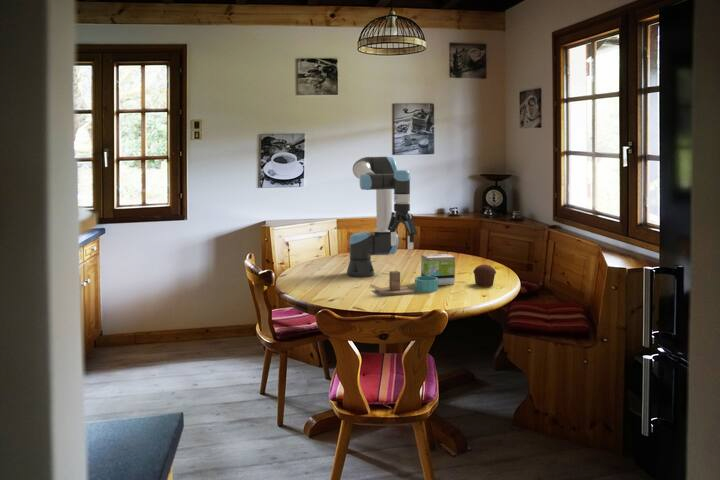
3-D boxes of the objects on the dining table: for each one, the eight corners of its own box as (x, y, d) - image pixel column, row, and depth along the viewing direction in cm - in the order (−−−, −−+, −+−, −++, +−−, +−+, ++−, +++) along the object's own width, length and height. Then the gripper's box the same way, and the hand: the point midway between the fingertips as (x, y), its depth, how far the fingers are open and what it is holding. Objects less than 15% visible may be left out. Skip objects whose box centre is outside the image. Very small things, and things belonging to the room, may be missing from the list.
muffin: (468, 284, 309) (468, 265, 308) (482, 281, 316) (482, 262, 315) (486, 288, 300) (486, 268, 299) (500, 284, 307) (501, 265, 306)
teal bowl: (411, 288, 301) (411, 276, 300) (432, 287, 304) (432, 275, 303) (420, 293, 290) (420, 281, 289) (441, 291, 293) (441, 279, 292)
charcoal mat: (370, 291, 296) (370, 290, 296) (408, 288, 302) (408, 287, 302) (379, 298, 283) (379, 297, 283) (419, 294, 288) (419, 293, 288)
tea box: (427, 286, 305) (428, 257, 303) (420, 282, 314) (420, 254, 312) (455, 284, 309) (455, 256, 307) (447, 280, 318) (447, 253, 316)
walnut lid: (375, 290, 295) (375, 270, 294) (405, 288, 300) (405, 268, 299) (383, 296, 284) (383, 275, 283) (414, 293, 289) (414, 273, 287)
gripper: (380, 201, 294) (380, 244, 297) (411, 205, 273) (411, 251, 277) (393, 200, 298) (393, 243, 301) (424, 204, 277) (424, 249, 281)
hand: (401, 247), depth 289 cm, fingers open, 13 cm apart
